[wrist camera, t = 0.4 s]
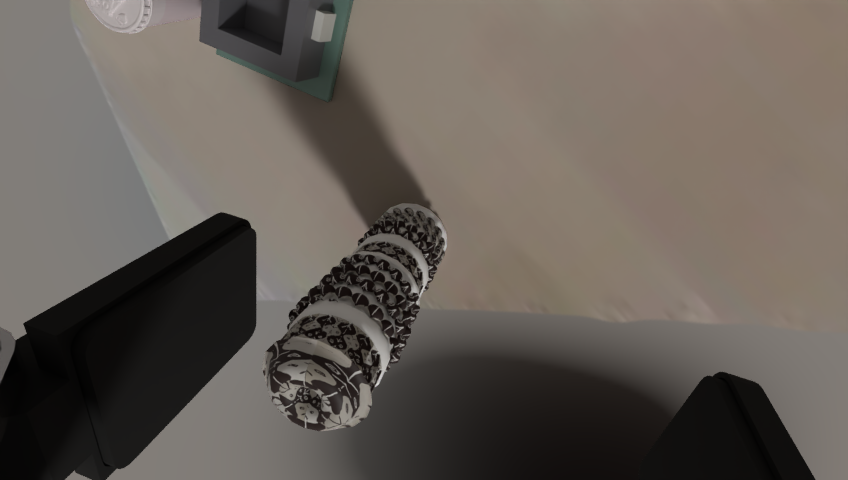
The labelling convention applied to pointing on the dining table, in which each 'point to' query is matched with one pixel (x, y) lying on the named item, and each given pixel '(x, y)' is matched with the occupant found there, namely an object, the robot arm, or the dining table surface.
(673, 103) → the dining table surface
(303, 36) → the socket
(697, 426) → the robot arm
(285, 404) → the decorative candle
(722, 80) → the dining table surface
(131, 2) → the smoothie
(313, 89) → the board
